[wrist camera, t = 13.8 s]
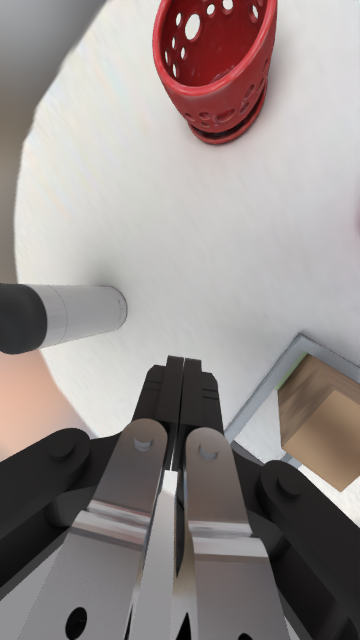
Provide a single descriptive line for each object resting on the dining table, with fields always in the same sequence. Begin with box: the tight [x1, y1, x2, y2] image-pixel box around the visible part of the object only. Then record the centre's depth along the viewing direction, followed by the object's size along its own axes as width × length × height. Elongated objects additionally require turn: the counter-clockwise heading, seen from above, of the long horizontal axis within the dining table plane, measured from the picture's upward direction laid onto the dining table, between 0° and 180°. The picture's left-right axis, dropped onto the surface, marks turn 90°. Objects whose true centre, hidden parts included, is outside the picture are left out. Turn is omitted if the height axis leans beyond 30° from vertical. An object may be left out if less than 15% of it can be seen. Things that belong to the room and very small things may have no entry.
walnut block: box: [278, 353, 360, 492], centre depth 27 cm, size 8×6×14 cm
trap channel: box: [224, 333, 360, 469], centre depth 35 cm, size 29×11×3 cm, turn 150°
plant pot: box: [152, 0, 277, 144], centre depth 28 cm, size 13×13×12 cm
